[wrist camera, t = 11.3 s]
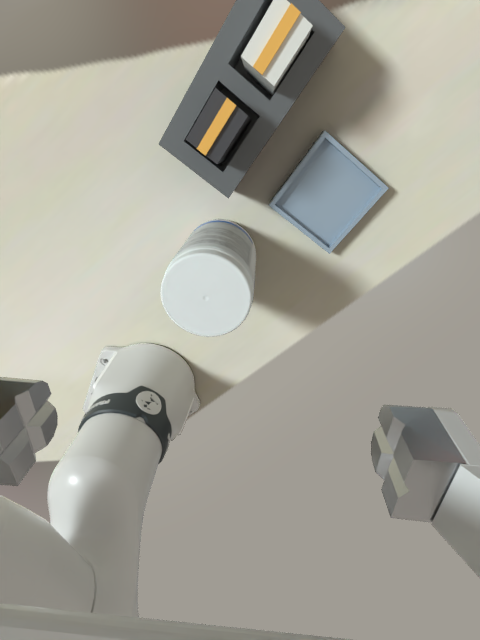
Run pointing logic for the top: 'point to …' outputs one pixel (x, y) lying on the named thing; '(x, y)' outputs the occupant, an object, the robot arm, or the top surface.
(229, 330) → the supplement tub
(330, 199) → the slate tray
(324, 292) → the top surface
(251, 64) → the white orange-striped block
